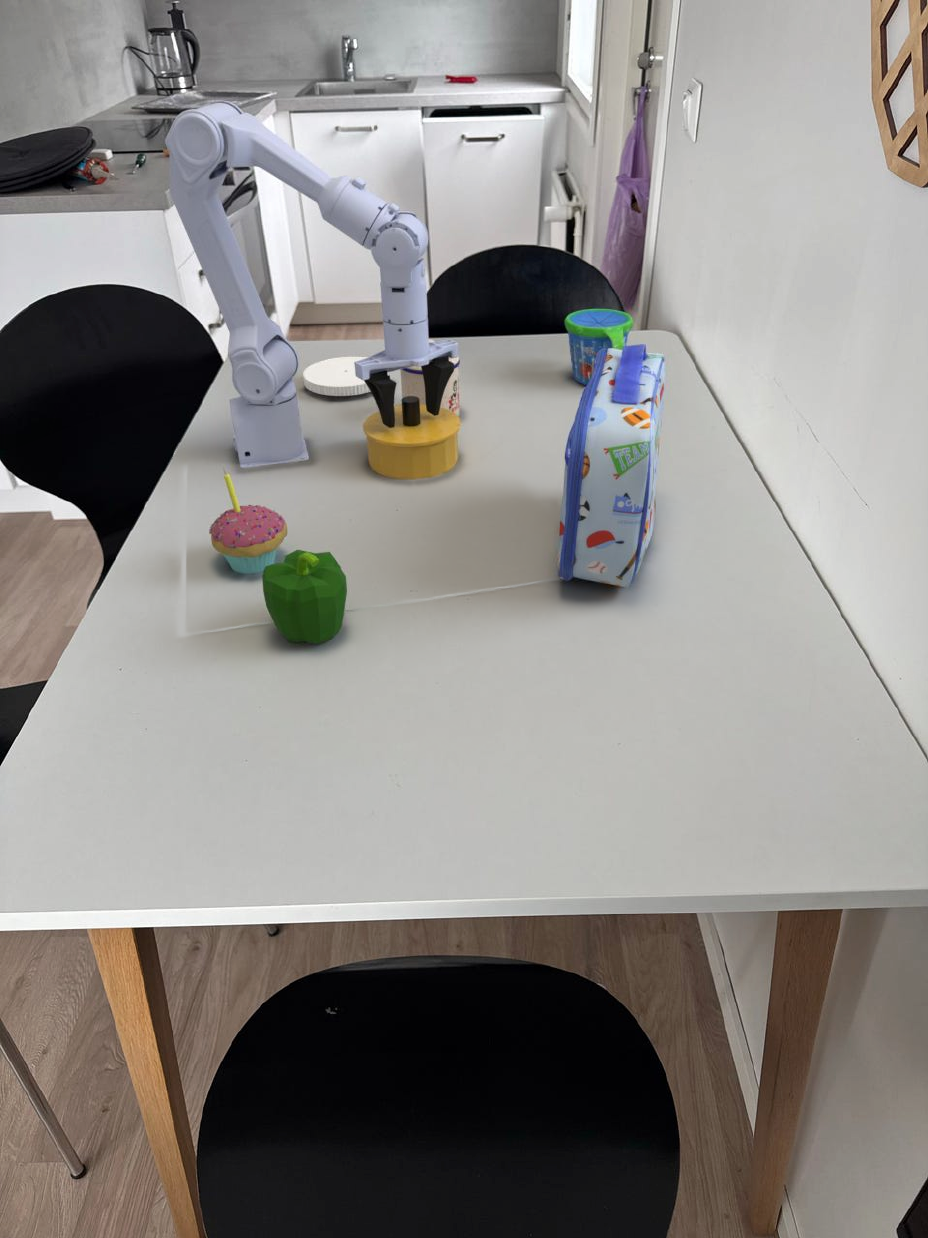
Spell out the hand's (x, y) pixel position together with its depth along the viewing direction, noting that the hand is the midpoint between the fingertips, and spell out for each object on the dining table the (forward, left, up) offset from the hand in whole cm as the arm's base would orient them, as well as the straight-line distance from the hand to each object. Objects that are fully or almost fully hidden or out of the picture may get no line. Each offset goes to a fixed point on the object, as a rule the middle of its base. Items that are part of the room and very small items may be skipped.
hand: (411, 419), depth 128 cm
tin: (0, 0, -6) cm, 6 cm away
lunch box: (+18, -28, -7) cm, 34 cm away
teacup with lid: (+6, +17, -7) cm, 19 cm away
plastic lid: (-5, +32, -7) cm, 33 cm away
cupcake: (-23, -22, -7) cm, 32 cm away
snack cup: (+35, +23, -7) cm, 42 cm away
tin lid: (0, 0, -1) cm, 1 cm away
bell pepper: (-18, -37, -7) cm, 42 cm away
